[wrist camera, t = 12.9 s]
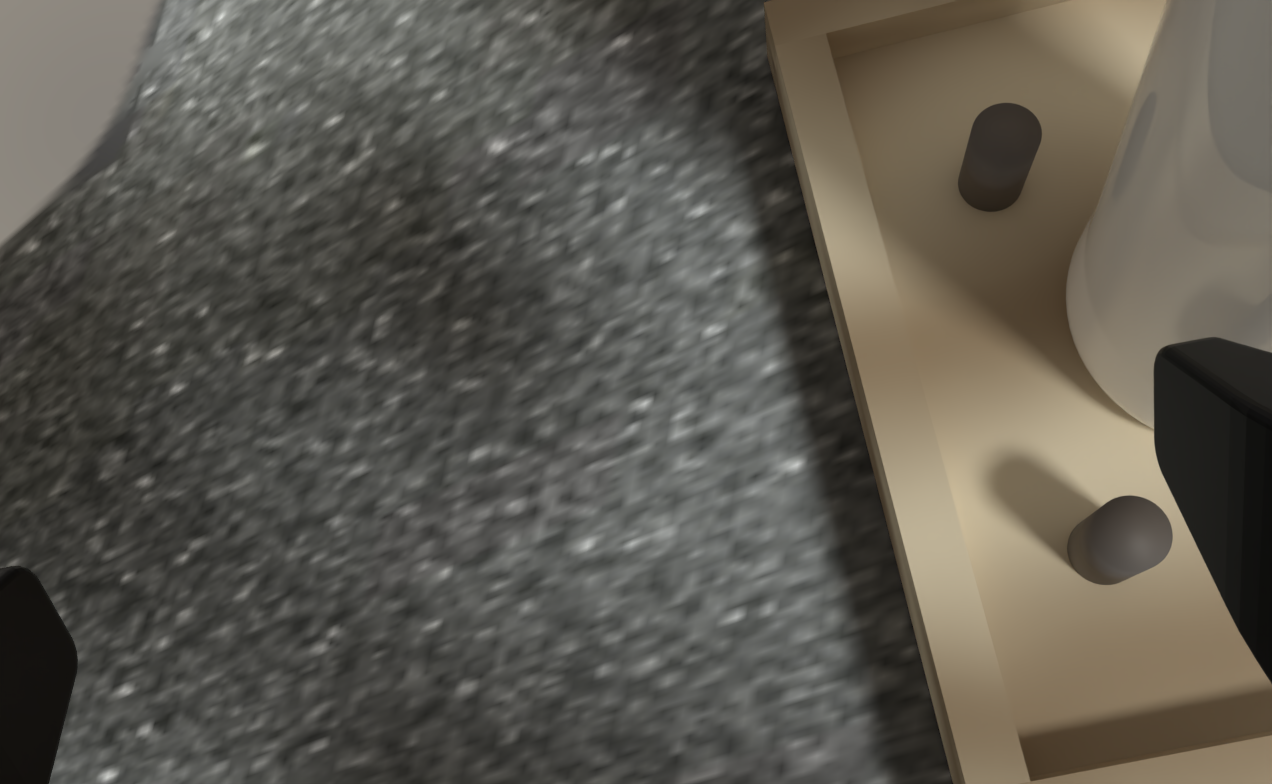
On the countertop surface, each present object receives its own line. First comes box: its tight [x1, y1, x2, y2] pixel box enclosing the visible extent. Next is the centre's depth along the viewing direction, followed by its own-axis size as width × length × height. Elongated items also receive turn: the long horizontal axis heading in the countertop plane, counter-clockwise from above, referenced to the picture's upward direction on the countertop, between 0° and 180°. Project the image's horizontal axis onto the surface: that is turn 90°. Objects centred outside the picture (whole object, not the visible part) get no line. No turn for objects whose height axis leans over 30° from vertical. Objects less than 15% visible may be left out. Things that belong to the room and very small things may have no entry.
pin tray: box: [764, 0, 1272, 784], centre depth 21 cm, size 16×14×3 cm
